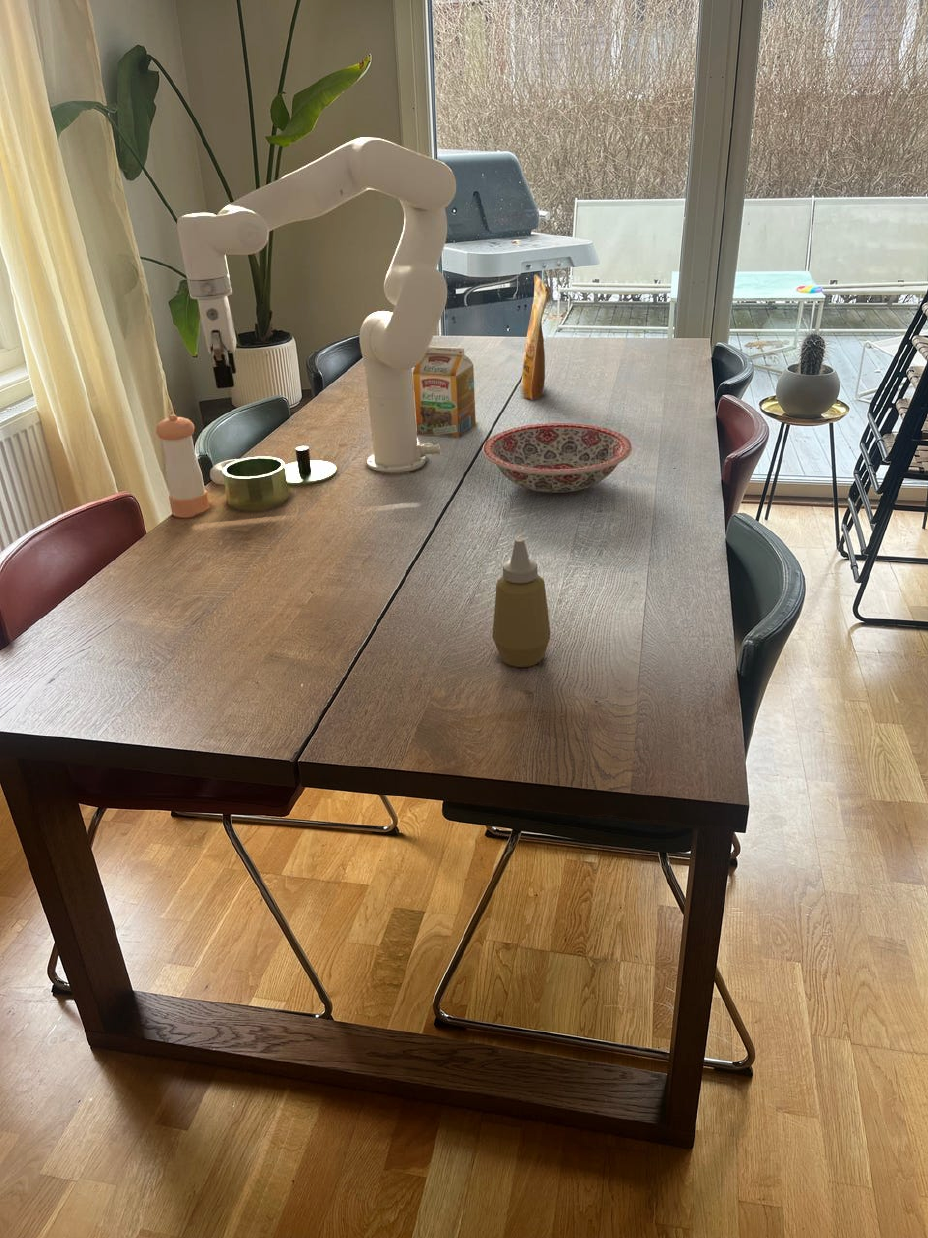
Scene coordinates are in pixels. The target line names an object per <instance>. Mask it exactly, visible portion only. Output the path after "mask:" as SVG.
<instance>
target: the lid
mask: <svg viewBox="0 0 928 1238" xmlns="http://www.w3.org/2000/svg"><path fill="white" fill-rule="evenodd" d="M310 454H311V453H310V446H307V445H299V446H297V447H295V456H296V461H295V462H291V463H290V462H289V463H288V464H287V463H286V464H285V469H286V476H287V483H288V485H291V486H305V485H312V484H317V483H321V482H324V481H327V480H329V479H331V478H332V477H334V476H335V475H336V473H337V466H336V465H335V464H333V463H332V462H329V461H324V460H311V455H310Z"/></svg>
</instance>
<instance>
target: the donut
mask: <svg viewBox="0 0 928 1238" xmlns="http://www.w3.org/2000/svg"><path fill="white" fill-rule="evenodd" d="M242 459H243V458H234V459H233V458H231V459H227V460H222V461H221V462H218V463H216V464H214V465H213V466H212V468H211V469H210V470H209V478H210V480H211V481H212V482H213V483H214V484H216V485H218V486H225V485H224V479H223V473H222V472H223V468H224V467H225V466H227V465H228V464H230V463H232V462H235V461H238V460H242Z"/></svg>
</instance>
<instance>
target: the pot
mask: <svg viewBox="0 0 928 1238" xmlns="http://www.w3.org/2000/svg"><path fill="white" fill-rule="evenodd" d="M241 459H242V460H238V461H235V462H232V463H230V464H228V465H227V466H225V467H224V468H223V472H222V473H223V479H224V485H223V486H224V490H225V495H226V500H227V504H228V505H229V506H231V507H233V508H236V509H240V510H259V509H260V510H261V509H266V508H270V507H274V506H277V505H279V504H281V503H284V502H285V501H286V500H287V499H288V498H289V497H290V492H289V484H288V483H287V476H286V469H285V465H286V463H285V461H283V460H282V459H280V458H277V457H273V456H254V457H253V456H252V457H246V458H241Z"/></svg>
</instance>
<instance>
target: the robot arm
mask: <svg viewBox="0 0 928 1238" xmlns="http://www.w3.org/2000/svg"><path fill="white" fill-rule="evenodd" d="M368 190H373V191H377V192H379V193H382V194H384V195H386V196H389V197H391V198H394V199H397V200H399V202H400V204H401V207H402V210H403V217H404V221H403V223H404V224H403V229H402V233H401V236H400V240H399V243H398V245H397V248H396V249H395V252H394V255H393V258H392V260H391V262H390V265H389V268H388V270H387V272H386V275H385V279H384V282H383V292H384V295H385V298H386V299H387V301H388V302H389V303H391V305H393V306H394V308H393V311H392V312H390V311H385V310H382V311H381V310H380V311H376V312H373V313H371V314H370V315H368V316H367V317H366V318H365V320H364V321H363V323H362V324H361V327H360V330H359V347H360V353H361V356H362V361H363V366H364V371H365V378H366V379H365V380H366V388H367V399H368V400H367V401H368V409H369V410H368V411H369V420H370V430H371V442H372V452H373V454H372V455H370V456H369V457H368V458H367V460H366V465H367V467H368V468H370V470H373V471H377V472H383V473H400V472H406V471H409V472H413V471H416V470H419V469H420V468H422V467H423V466H424V465H425V464H426V463H427V458H426V455H438V454H440V453H441V448H440V444H439V443H438V444H433V442H426V443H422V442H420V441H419V439H418V434H417V426H416V412H415V398H414V383H413V372H412V371H413V370H412V369H414V368H415V366H416V365H417V364H419V363H420V361H421V360H422V359H423V357H424V356H425V354H426V352H427V350H428V347H429V346H430V345H431V343H432V340H433V338H434V336H435V333H436V330H437V328H438V325H439V324H440V320H441V318H442V315H443V313H444V310H445V307H446V304H447V300H448V298H447V297H448V286H447V285H448V284H447V281H446V279H445V277H444V275H443V274H442V272H441V271H440V270H438V269H437V268H438V265H439V262H440V259H441V256H442V254H443V250H444V248H445V245H446V241H447V235H448V218H447V213H446V208H447V207H448V206H449V205H450V204H451V203H452V201H453V200H454V198H455V195H456V192H457V180H456V177H455V174H454V172H453V171H452V169H451V168H450V167H449V166H448V165H447V164H446V163H445V162H443V161H440V160H438V159H436V158H434V157H430V156H427V155H425V154H422V153H420V152H417V151H415V150H412V149H408V148H407V147H403V146H401V145H399V144H397V143H395V142H391V141H389V140H386V139H383V138H378V137H358V138H355V139H353V140H350V141H348V142H346V143H345V144H343V145H340V146H339V147H337V148H335V149H334V150H331V151H330V152H329V153H326V154H325V155H323V156H322V157H320V158H318V159H316V160H314V161H311V162H310V163H308V164H307V165H305V166H302V167H301V168H299V169H296V170H295V171H293V172H291V173H288V174H285V175H284V176H282V177H280V178H278V179H277V180H274V181H272V182H269V183H268V184H266V185H263V186H260V187H258V188H257V189H255V190H253V191H250V192H249V193H247V194H245V195H243V196H242V197H240V198H238V199H236V200H234V201H233V202H231V203H229V204H227V205H226V206H225V207H223V208H222V209H221V210H220V211H219V212H218V213H217V215H216V214H214V213H211V212H197V213H196V212H195V213H189V214H185V215H181V216H179V218H177V221H176V230H177V235H178V239H179V245H180V251H181V257H182V261H183V267H184V272H185V276H186V282H187V287H188V292H189V296H190V299H192V300H197V305H198V310H199V316H200V321H201V326H202V330H203V335H204V339H205V343H206V348H207V352H208V353H209V354H210V355H211V356H212V364H213V366H212V370H213V375H214V381H215V386H216V388H217V389H225V388H226V389H227V388H233V387H234V386H235V381H234V375H236V373H237V369H236V363H235V362H236V361H235V358H234V357H235V356H234V352H235V351H236V350H237V349H236V348H237V337H236V331H235V327H234V321H233V315H232V312H231V306H230V302H229V298H228V297H229V296H230V295H233V290H232V289H233V288H232V283H231V279H230V272H229V267H228V261H227V256H226V255H239V256H240V255H241V256H242V255H243V256H246V255H247V256H248V255H254V254H257V253H259V252H260V251H262V250H263V249H264V248H265V246H266V245H267V243H268V240H269V235H270V234H269V233H270V232H272V231H273V230H275V229H277V228H280V227H282V226H284V225H288V224H291V223H294V222H301V221H308V220H313V219H315V218H318V217H321V216H324V215H326V214H327V213H329V212H331V211H332V210H334V209H336V208H337V207H339V206H341V205H343V204H345V203H346V202H348V201H350V200H352V199H354V198H356V197H357V196H359V195H361V194H363V193H365V192H366V191H368Z"/></svg>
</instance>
